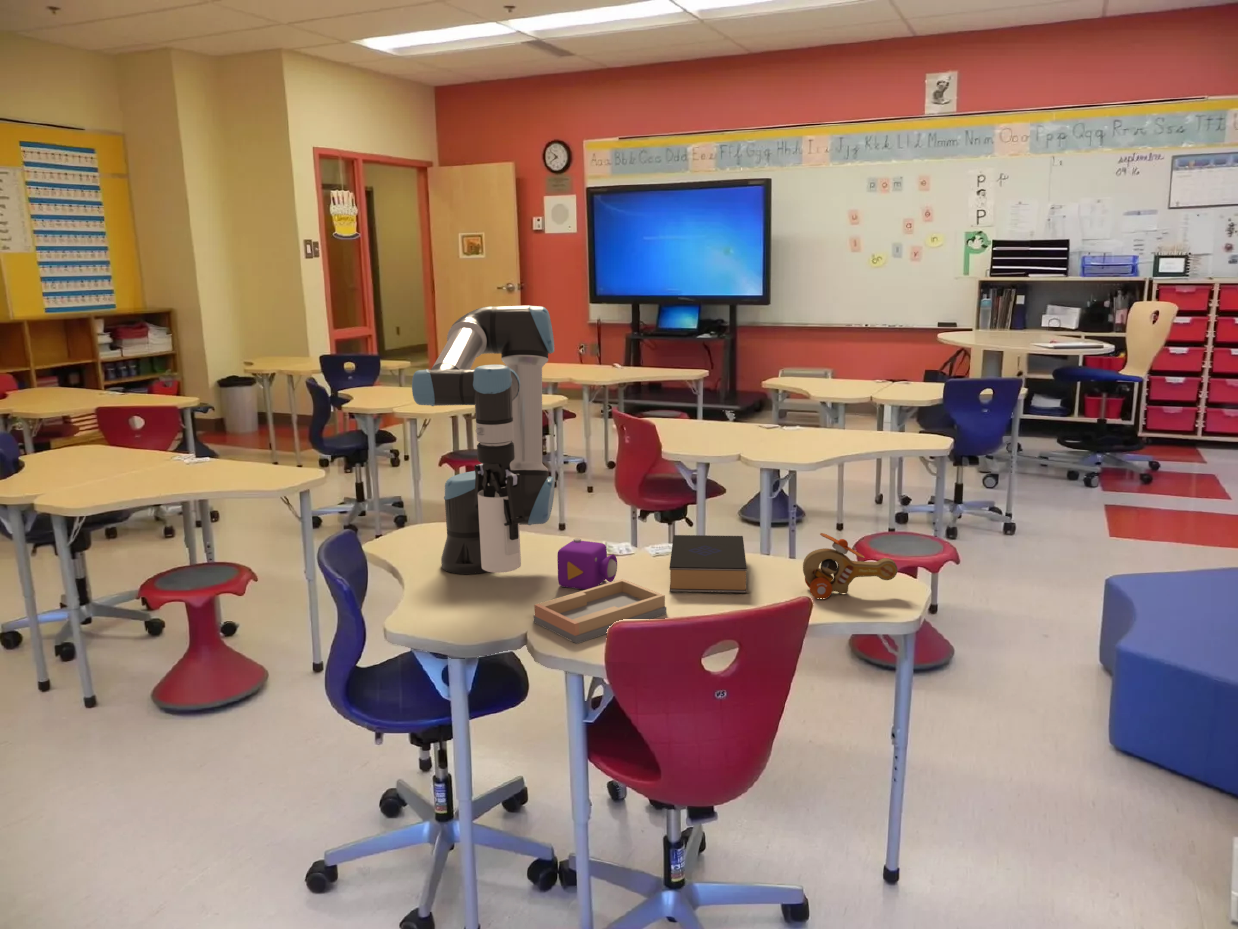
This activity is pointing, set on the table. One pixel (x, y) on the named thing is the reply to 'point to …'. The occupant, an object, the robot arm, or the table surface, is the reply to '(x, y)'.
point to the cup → (495, 535)
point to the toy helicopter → (840, 569)
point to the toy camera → (585, 565)
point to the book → (708, 564)
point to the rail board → (598, 609)
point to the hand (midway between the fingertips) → (500, 548)
